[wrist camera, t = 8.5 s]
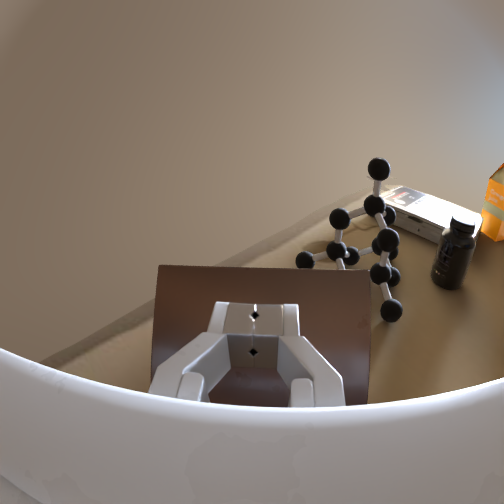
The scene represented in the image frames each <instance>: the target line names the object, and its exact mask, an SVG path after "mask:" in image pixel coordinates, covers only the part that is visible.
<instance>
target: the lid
mask: <svg viewBox="0 0 504 504" xmlns="http://www.w3.org/2000/svg"><path fill="white" fill-rule="evenodd" d="M216 302H229V303H230V302H234V303H251V304H283V305H284V304H297V305H298V314H299V333H300V336H304V337H305V338H306V339H307V340H308V341H309V343H310V344H311V345H312V346H313V347H314V348H315V349H316V350H317V351H318V352H319V353H320V354H321V355H322V356H323V357H324V359H325V360H326V361H327V362H328V363H329V364H330V365H331V366H332V367H333V368H334V369H335V370H336V371H337V372H338V373H339V374H340V375H341V377H342V381H343V389H344V396H345V404H346V406H355V405H367V400H368V387H369V372H370V348H371V289H370V270H351V269H291V268H248V267H213V266H183V265H159V267H158V277H157V286H156V296H155V308H154V321H153V336H152V355H151V383H152V380H153V378H154V375H155V372H156V370H157V367H158V366H159V365H160V364H162V363H163V362H164V361H166V360H167V359H168V358H170V357H171V356H172V355H174V354H175V353H176V352H178V351H179V350H180V349H182V348H183V347H184V346H185V345H187V344H188V343H189V342H191V341H192V340H193V339H194V338H196V337H197V336H198V335H200V334H201V333H202V332H207V329H208V326H209V322H210V318H211V315H212V311H213V308H214V304H215V303H216ZM289 395H290V390H289V388H288V387H287V385H286V383H285V382H284V380H283V379H282V377H281V376H280V374H279V373H278V371H277V369H263V368H242V367H231V369H230V370H229V371H228V372H227V373H226V374H225V375H224V377H223V378H222V379H221V380H220V381H219V382H218V383H217V384H216V385H215V386H214V387H213V389H212V390H211V391H210V392H209V393H208V396H209V400H210V403H215V404H226V405H238V406H254V407H280V408H288V401H289Z"/></svg>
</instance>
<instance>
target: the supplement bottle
mask: <svg viewBox="0 0 504 504" xmlns="http://www.w3.org/2000/svg"><path fill="white" fill-rule="evenodd" d="M475 227H476V222H475V221H474V220H473V219H472V218H470V217H468V216H466V215H463V214H458V213H455V214H452V215H451V220H450V222H449V227H448V228H446V229H444V230H443V232H442V234H441V237H440V241H439V245H438V249H437V252H436V256H435V259H434V263H433V266H432V270H431V278H432V280H433V281H434V282H435V283H436V284H437V285H438V286H440V287H442V288H445V289H448V290H456V289H458V288H460V287H461V286H462V284H463V282H464V279H465V276H466V274H467V271H468V268H469V265H470V262H471V259H472V256H473V253H474V250H475V247H476V242H475V239H474V237H473V236H472V235H474V233H475Z"/></svg>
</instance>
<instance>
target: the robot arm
mask: <svg viewBox="0 0 504 504" xmlns="http://www.w3.org/2000/svg"><path fill="white" fill-rule="evenodd" d="M231 367H242V368H263V369H277V371H278V373H279V374H280V376H281V377H282V379H283V380H284V382H285V383H286V385H287V387H288V388H289V390H290V395H289V401H288V408H280V407H254V406H238V405H226V404H215V403H210V400H209V396H208V393H209V392H210V391H211V390H212V389H213V387H214V386H215V385H216V384H217V383H218V382H219V381H220V380H221V379H222V378H223V377H224V375H225V374H226V373H227V372H228V371H229V370H230V369H231ZM0 504H504V378H501V379H498V380H495V381H491V382H488V383H484V384H480V385H477V386H473V387H469V388H465V389H461V390H456V391H452V392H447V393H442V394H437V395H432V396H427V397H421V398H415V399H408V400H402V401H394V402H386V403H377V404H367V405H355V406H346V404H345V396H344V389H343V381H342V377H341V375H340V374H339V373H338V372H337V371H336V370H335V369H334V368H333V367H332V366H331V365H330V364H329V363H328V362H327V361H326V360H325V359H324V357H323V356H322V355H321V354H320V353H319V352H318V351H317V350H316V349H315V348H314V347H313V346H312V345H311V344H310V343H309V341H308V340H307V339H306V338H305V337H304V336H300V333H299V314H298V305H297V304H284V305H283V304H251V303H234V302H230V303H229V302H216V303H215V304H214V308H213V311H212V315H211V318H210V322H209V326H208V329H207V332H202V333H201V334H200V335H198V336H197V337H196V338H194V339H193V340H192V341H191V342H189V343H188V344H187V345H185V346H184V347H183V348H182V349H180V350H179V351H178V352H176V353H175V354H174V355H172V356H171V357H170V358H168V359H167V360H166V361H164V362H163V363H162V364H160V365H159V366H158V367H157V370H156V372H155V375H154V378H153V380H152V383H151V386H150V389H149V391H148V393H143V392H138V391H133V390H128V389H124V388H119V387H115V386H111V385H107V384H103V383H99V382H95V381H92V380H88V379H85V378H81V377H78V376H74V375H71V374H68V373H65V372H61V371H58V370H55V369H52V368H49V367H47V366H44V365H41V364H38V363H35V362H33V361H30V360H28V359H25V358H22V357H20V356H17V355H15V354H13V353H10V352H8V351H6V350H3V349H1V348H0Z"/></svg>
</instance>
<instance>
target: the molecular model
mask: <svg viewBox="0 0 504 504" xmlns="http://www.w3.org/2000/svg"><path fill="white" fill-rule="evenodd" d="M390 169H391V168H390V165H389V163H388V162H387V161H386V160H385V159H383V158H379V157H378V158H374V159H372V160H371V161H370V163H369V165H368V172H369V174H370V176H371V177H372V178H373V179H374V188H373V195H370V196H368V197H367V198H366V199H365V201H364V207H362V208H359V209H356V210H353V211H351V212H348V211H347V210H345V209H343V208H337V209H335V210H333V211H332V212H331V214H330V217H329V221H330V224H331V225H332V227H333V228H335V229H336V232H335V240H334V241H331V242H330V243H329V244H328V246H327V248H326V251H325V252H322V253H319V254H316V255H313V254H312V253H310V252H308V251H303V252H301V253H299V254H298V255H297V257H296V265H297V267H298V268H299V269H312V268H313V267H314V265H315V261H318V260H321V259H324V258H328V257H329V258H330V259H331V260H334V261H336V263H337V266H338V269H345V267H344V264H343V262H344V263H345V264H347V265H355V264H356V263H357V262H358V261H359V259H360V256H362V255H366V254H369V253H372V252H374V253H375V254H377V255H380V256H381V258H380V262H379V263H376V264H374V265H373V266H372V268H371V269H370V281H372V282H374V283H375V284H377V285H380V287H381V290H382V293H383V296H384V300H385V302H384V303H383V304H382V306H381V309H380V313H381V316H382V318H383V319H384V320H385V321H387V322H395V321H397V320H398V319H399V318H400V317H401V315H402V312H403V308H402V305H401V303H400V302H399V301H398V300H395V299H392V298H391V295H390V292H389V288H388V287H394V286H396V285H397V284H398V283H399V281H400V278H401V277H400V272H399V271H398V270H397V269H396V268H394V267H391V265H390V262H389V260H393V259H395V258H396V257H397V255H398V245H399V241H400V239H399V235H398V233H397V232H396V231H395V230H393V229H391V228H387V227H388V226H390V225H392V224H393V223H394V222H395V220H396V213H395V210H394V209H393V208H392V207H390V206H386V205H385V201H384V199H383V198H382V197H381V196H380V189H381V181H383V180H385V179H387V178H388V176H389V175H390V171H391V170H390ZM366 213H367V214H368V215H369V216H372V217H375V218H376V220H377V223H378V225H379V227H380V230H381V231H380V232H379V233H378V235H377V237H376V238H375V239H374V240H373V241H372V246H371V247H368V248H364V249H361V250H358V249H356V248H355V247H347V248H346V246H345V244H344V243H343V242H342V241H341V237H342V230H343V229H346V228H347V227H348V226H349V224H350V222H351V219H352V218H355V217H358V216H360V215H363V214H366Z"/></svg>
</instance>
